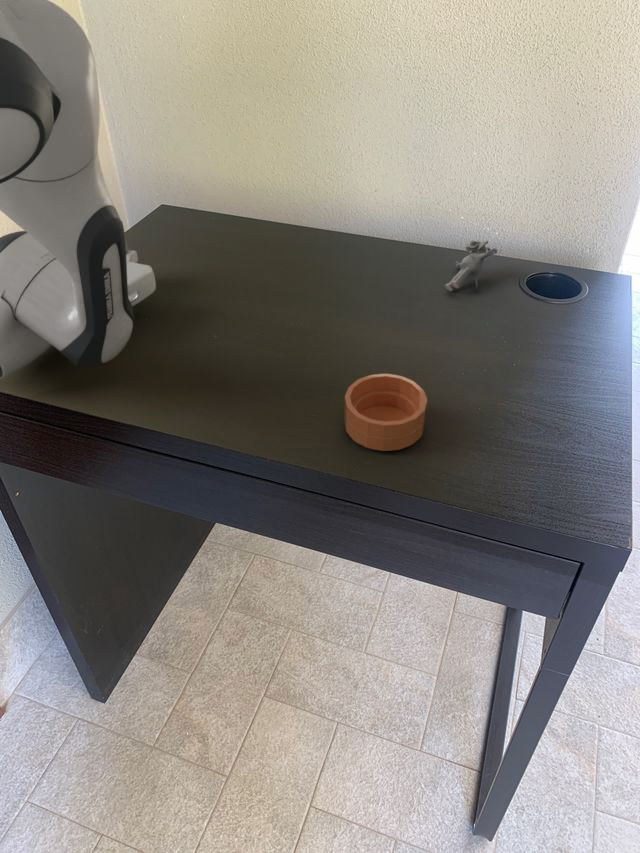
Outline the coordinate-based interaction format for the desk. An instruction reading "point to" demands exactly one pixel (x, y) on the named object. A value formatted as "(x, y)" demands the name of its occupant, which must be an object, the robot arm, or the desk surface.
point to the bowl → (385, 412)
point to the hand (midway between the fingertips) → (116, 251)
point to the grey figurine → (471, 263)
